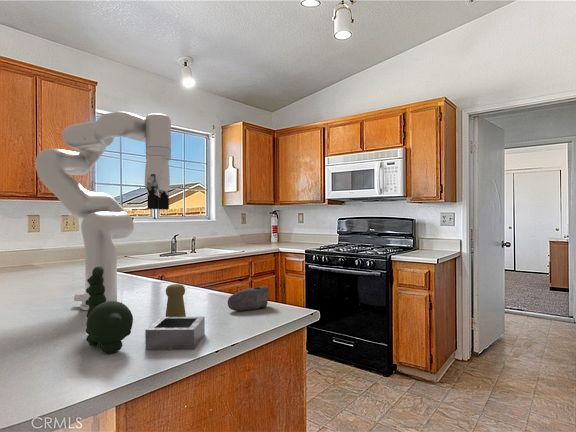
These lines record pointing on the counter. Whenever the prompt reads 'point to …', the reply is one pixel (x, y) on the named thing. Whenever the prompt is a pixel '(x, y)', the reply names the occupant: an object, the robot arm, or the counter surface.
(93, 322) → the toy figurine
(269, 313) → the counter surface
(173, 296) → the cork
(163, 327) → the metal open box
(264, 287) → the perforated stone tool
